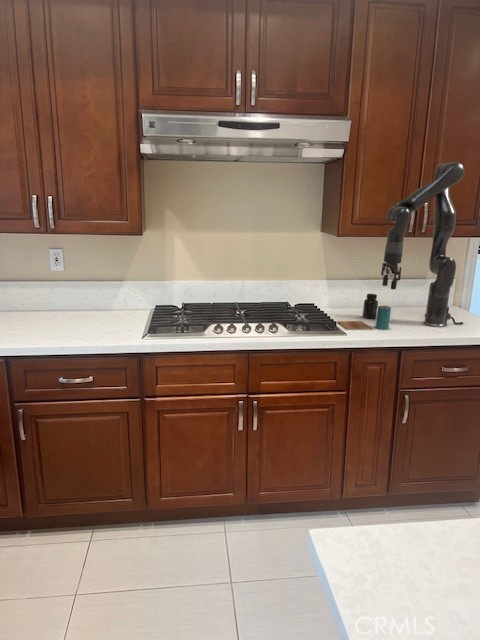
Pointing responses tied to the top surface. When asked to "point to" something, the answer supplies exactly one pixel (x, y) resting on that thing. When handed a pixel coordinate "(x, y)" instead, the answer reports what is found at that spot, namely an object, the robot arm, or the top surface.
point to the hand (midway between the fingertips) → (388, 287)
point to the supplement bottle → (370, 306)
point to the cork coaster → (354, 325)
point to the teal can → (383, 317)
